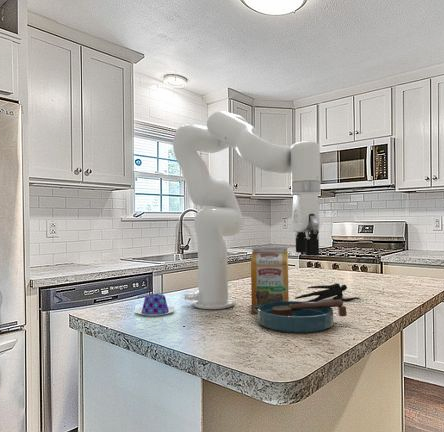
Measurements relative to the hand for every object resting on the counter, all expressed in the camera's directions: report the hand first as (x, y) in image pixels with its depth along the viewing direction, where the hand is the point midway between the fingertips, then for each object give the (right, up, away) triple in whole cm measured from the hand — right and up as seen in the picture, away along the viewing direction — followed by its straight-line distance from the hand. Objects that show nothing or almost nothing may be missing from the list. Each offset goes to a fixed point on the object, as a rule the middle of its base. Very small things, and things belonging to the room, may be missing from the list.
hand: (306, 253), depth 109 cm
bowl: (-3, -18, 0) cm, 19 cm away
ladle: (+1, -17, 0) cm, 17 cm away
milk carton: (-7, -19, +17) cm, 26 cm away
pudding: (-42, -19, +15) cm, 49 cm away
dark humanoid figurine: (+14, -19, +26) cm, 35 cm away
